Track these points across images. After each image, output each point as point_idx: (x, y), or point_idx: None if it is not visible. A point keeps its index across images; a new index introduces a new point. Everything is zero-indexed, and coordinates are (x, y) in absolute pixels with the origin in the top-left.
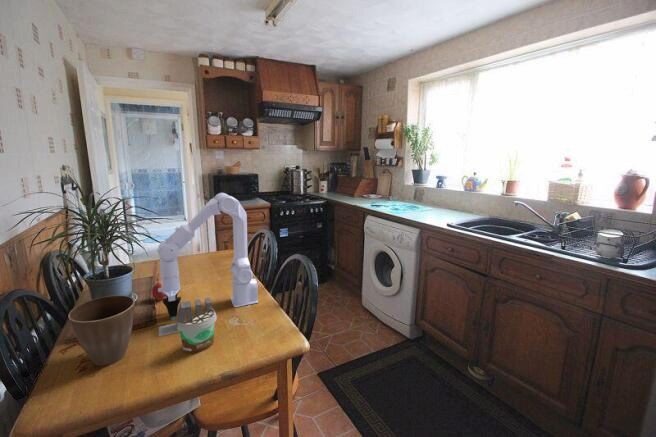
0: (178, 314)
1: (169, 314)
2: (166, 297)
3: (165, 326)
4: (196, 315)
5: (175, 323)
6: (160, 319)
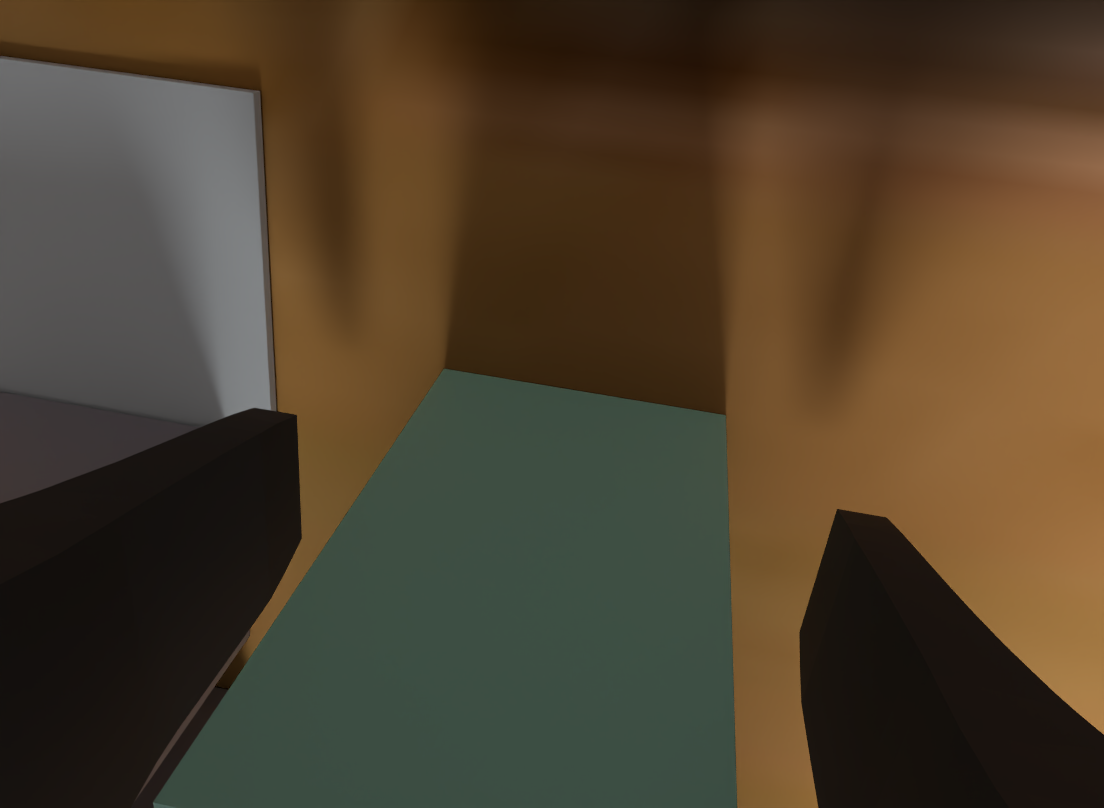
0: None
1: (196, 440)
2: (949, 721)
3: (218, 227)
4: None
5: None
6: (650, 178)
